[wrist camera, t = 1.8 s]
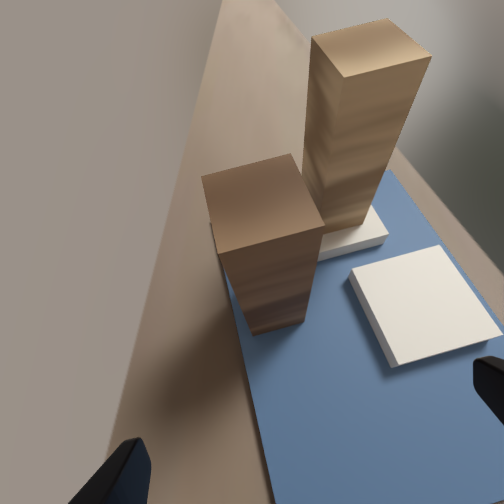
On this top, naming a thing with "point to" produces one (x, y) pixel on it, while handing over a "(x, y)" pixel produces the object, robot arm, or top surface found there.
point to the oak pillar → (356, 114)
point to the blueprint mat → (380, 372)
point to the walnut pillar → (266, 239)
